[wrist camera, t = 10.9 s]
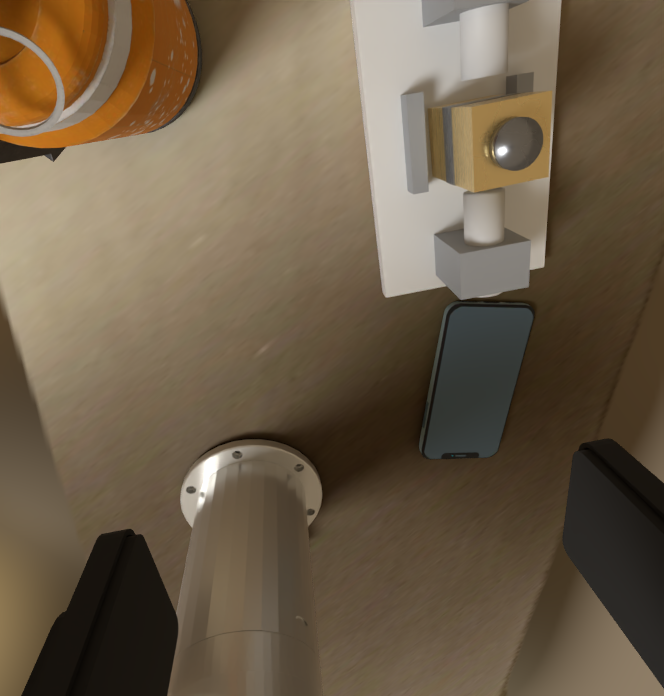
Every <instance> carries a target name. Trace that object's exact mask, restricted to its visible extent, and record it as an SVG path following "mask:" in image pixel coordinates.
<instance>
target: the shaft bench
mask: <svg viewBox="0 0 664 696" xmlns="http://www.w3.org/2000/svg"><path fill="white" fill-rule="evenodd" d="M350 6H351V15H352V24H353V33H354V42H355V51H356V60H357V69H358V78H359V87H360V96H361V104H362V113H363V122H364V131H365V140H366V149H367V158H368V167H369V176H370V185H371V194H372V203H373V212H374V220H375V229H376V238H377V247H378V256H379V265H380V274H381V283H382V292H383V294H384V295H385V297H386V298H387V297H393V296H398V295H403V294H408V293H413V292H418V291H424V290H429V289H434V288H439V287H444V286H447V287H448V288H449V289H450V290H451V291H452V292H453V293H454V294H455V295H456V296H457V297H458V298H459V299H460V300H464V299H469V298H475V297H492V296H496V295H498V294H500V293H502V292H505V291H510V290H516V289H521V288H526V287H529V272H530V270H532V269H537V268H543V267H544V262H545V246H546V231H547V216H548V200H549V185H550V169H551V154H552V139H553V123H554V108H555V93H556V77H557V62H558V47H559V31H560V16H561V0H350ZM551 90H552V111H551V134H550V157H549V177H546V178H541V179H537V180H532V181H527V182H523V183H518V184H513V185H508V186H504V187H499V188H494V189H489V190H485V191H480V192H475V193H474V192H471V191H469V190H466V189H464V188H461V187H459V186H454V185H451V184H449V183H446V181H443V180H441V179H438V178H436V177H433V176H432V164H431V150H430V136H429V122H428V108H432V107H437V106H442V105H447V104H451V103H456V102H461V101H466V100H471V99H476V98H480V97H485V96H490V95H502V94H510V93H518V92H524V93H526V92H539V91H551Z"/></svg>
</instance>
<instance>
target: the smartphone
mask: <svg viewBox="0 0 664 696" xmlns="http://www.w3.org/2000/svg"><path fill="white" fill-rule="evenodd" d="M534 313H535V312H534V310H533V308H532V307H531V306H530V305H528V304H525V303H514V302H512V303H511V302H486V301H484V302H482V301H481V302H477V301H475V302H474V301H456V302H452V303H451V304H449V305H448V306H447V307H446V309H445V311H444V315H443V320H442V325H441V330H440V335H439V341H438V346H437V351H436V356H435V361H434V366H433V371H432V376H431V381H430V386H429V392H428V397H427V402H426V407H425V413H424V418H423V424H422V430H421V436H420V442H419V450H420V452H421V454H422V455H423V457H425V458H426V459H458V458H487V457H491V456H493V455H494V454H496V453H497V451H498V449H499V446H500V442H501V438H502V435H503V431H504V427H505V424H506V420H507V416H508V412H509V409H510V405H511V401H512V398H513V394H514V390H515V387H516V383H517V379H518V375H519V372H520V368H521V364H522V361H523V357H524V353H525V350H526V346H527V342H528V339H529V335H530V331H531V327H532V324H533V320H534Z"/></svg>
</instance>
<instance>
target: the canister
mask: <svg viewBox="0 0 664 696" xmlns="http://www.w3.org/2000/svg"><path fill="white" fill-rule="evenodd" d="M201 68H202V49H201V41H200V35H199V31H198V27H197V23H196V21H195V18H194V15H193V13H192V10H191V8H190V6H189V4H188V2H187V0H0V163H6V162H11V161H16V160H21V159H27V158H32V157H37V156H43V155H44V156H46V157H47V158H49V159H50V160H52V161H53V162H54V161H55V160H56V158H57V157H58V156H59V155H60V153H61V152H62V151H63V150H64V149H65V147H67V146H73V145H79V144H85V143H91V142H97V141H103V140H109V139H115V138H121V137H127V136H133V135H139V134H144V133H150V132H154V131H156V130H159V129H162V128H164V127H166V126H167V125H169V124H171V123H172V122H174V121H175V120H176V119H177V118H178V117H179V116H180V115H181V114H182V113H183V112H184V111H185V110H186V108H187V107H188V106H189V104H190V102H191V101H192V99H193V97H194V95H195V93H196V90H197V87H198V84H199V80H200V74H201Z"/></svg>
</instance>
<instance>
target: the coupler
mask: <svg viewBox="0 0 664 696" xmlns="http://www.w3.org/2000/svg"><path fill="white" fill-rule="evenodd" d="M551 111H552V90H551V91H539V92H526V93H524V92H518V93H510V94H502V95H490V96H485V97H480V98H476V99H471V100H466V101H461V102H456V103H451V104H447V105H442V106H437V107H432V108H428V122H429V136H430V150H431V164H432V176H433V177H436V178H438V179H441V180H443V181H446V183H449V184H451V185H454V186H459V187H461V188H464V189H466V190H469V191H471V192H474V193H475V192H480V191H485V190H489V189H494V188H499V187H504V186H508V185H513V184H518V183H523V182H527V181H532V180H537V179H541V178H546V177H549V157H550V134H551Z"/></svg>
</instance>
